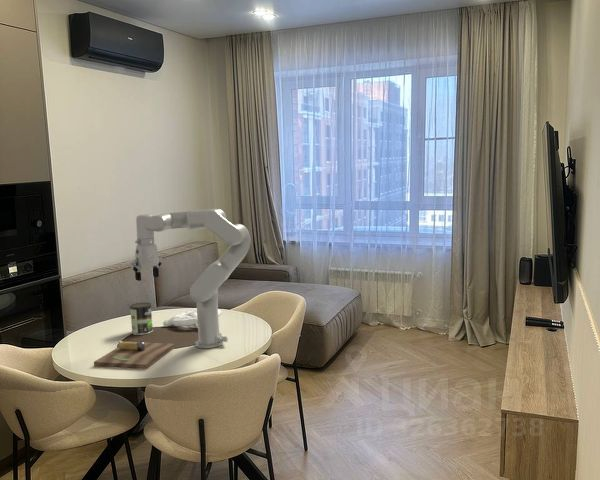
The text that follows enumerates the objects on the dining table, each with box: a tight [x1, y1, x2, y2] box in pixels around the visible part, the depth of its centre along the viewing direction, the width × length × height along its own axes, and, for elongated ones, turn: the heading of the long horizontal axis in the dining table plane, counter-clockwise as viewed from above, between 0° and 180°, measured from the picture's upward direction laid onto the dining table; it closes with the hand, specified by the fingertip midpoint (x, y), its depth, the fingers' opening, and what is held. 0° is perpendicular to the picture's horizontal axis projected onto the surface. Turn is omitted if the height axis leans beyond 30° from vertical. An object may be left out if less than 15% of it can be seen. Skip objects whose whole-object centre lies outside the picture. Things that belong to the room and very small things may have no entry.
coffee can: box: [129, 302, 154, 336], centre depth 267 cm, size 10×10×14 cm
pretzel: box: [162, 309, 222, 327], centre depth 279 cm, size 28×24×6 cm
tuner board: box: [93, 342, 176, 370], centre depth 231 cm, size 24×26×2 cm
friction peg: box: [117, 340, 146, 351], centre depth 235 cm, size 12×3×4 cm, turn 77°
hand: (147, 278), depth 244 cm, fingers open, 9 cm apart
